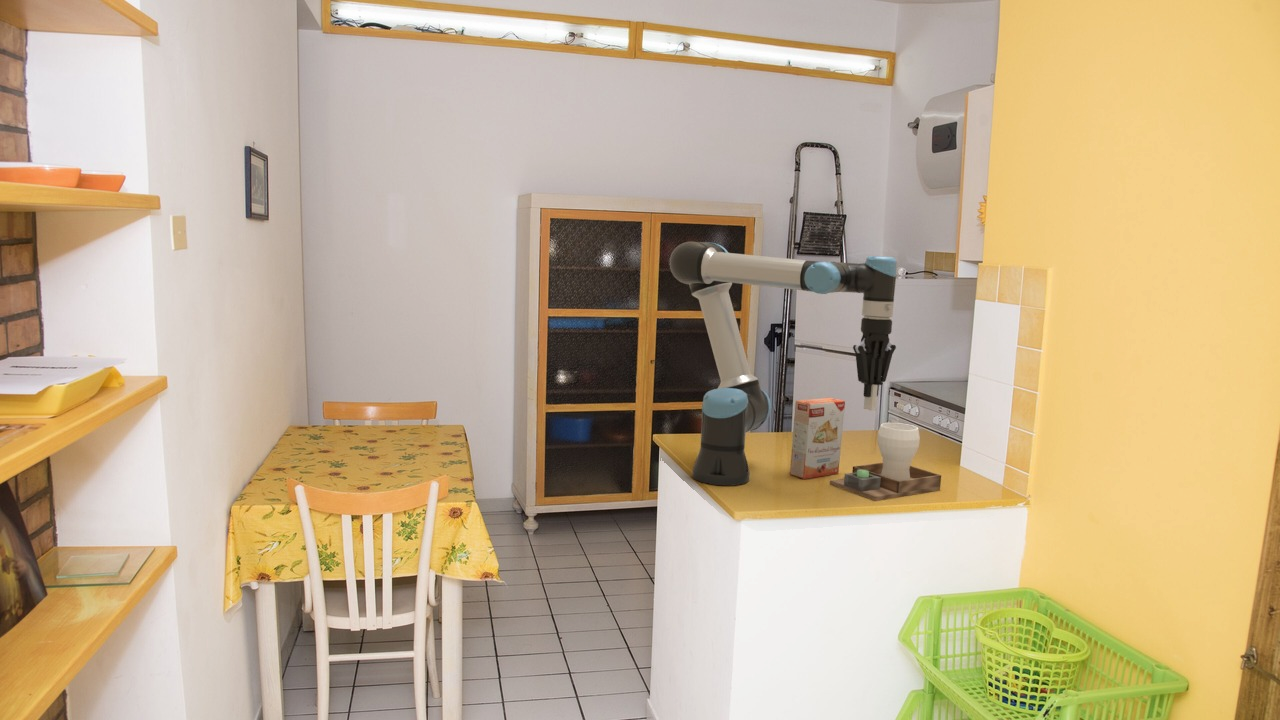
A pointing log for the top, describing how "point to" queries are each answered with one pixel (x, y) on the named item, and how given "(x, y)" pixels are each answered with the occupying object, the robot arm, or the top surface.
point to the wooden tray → (887, 483)
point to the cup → (897, 449)
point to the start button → (862, 473)
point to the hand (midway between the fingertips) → (869, 409)
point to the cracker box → (817, 437)
